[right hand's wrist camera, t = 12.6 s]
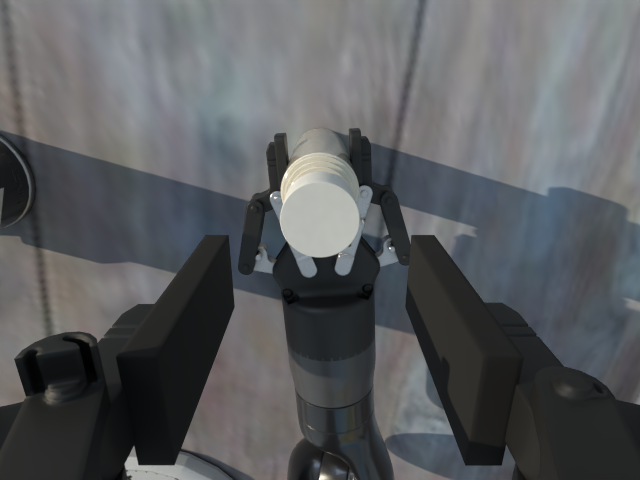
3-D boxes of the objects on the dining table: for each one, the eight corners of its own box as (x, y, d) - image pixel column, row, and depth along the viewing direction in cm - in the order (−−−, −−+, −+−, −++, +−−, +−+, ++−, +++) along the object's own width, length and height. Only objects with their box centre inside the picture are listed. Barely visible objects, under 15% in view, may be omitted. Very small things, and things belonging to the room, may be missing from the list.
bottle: (306, 188, 38) (296, 276, 21) (284, 141, 36) (254, 193, 19) (354, 168, 37) (382, 241, 20) (333, 119, 36) (346, 153, 19)
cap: (302, 250, 22) (300, 268, 20) (271, 188, 21) (266, 201, 19) (366, 224, 22) (371, 240, 20) (339, 159, 21) (341, 168, 19)
